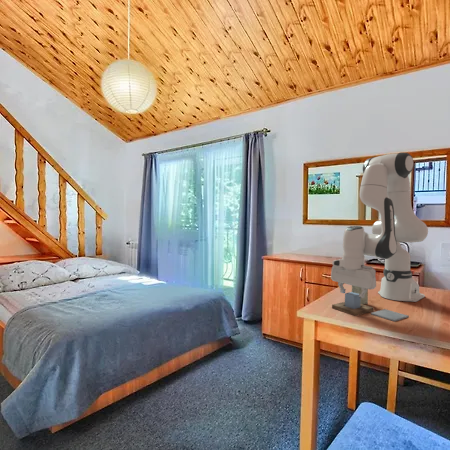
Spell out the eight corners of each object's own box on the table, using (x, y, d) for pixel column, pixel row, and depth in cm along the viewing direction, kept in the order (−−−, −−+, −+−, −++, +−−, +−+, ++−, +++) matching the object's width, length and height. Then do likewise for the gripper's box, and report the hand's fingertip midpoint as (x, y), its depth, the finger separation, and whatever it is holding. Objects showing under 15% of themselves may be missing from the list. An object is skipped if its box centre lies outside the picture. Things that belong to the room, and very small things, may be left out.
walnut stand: (349, 303, 143) (349, 300, 143) (373, 311, 133) (373, 307, 133) (332, 308, 137) (332, 304, 137) (355, 315, 127) (356, 312, 127)
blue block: (351, 307, 138) (351, 292, 138) (360, 310, 134) (360, 294, 134) (344, 309, 136) (345, 293, 135) (353, 311, 132) (354, 295, 132)
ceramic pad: (384, 310, 134) (384, 309, 134) (408, 317, 125) (408, 315, 125) (370, 314, 129) (370, 312, 129) (394, 321, 120) (394, 320, 120)
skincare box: (368, 304, 143) (368, 278, 143) (360, 304, 142) (360, 278, 141) (358, 300, 149) (359, 275, 149) (350, 301, 148) (351, 275, 148)
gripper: (380, 266, 127) (378, 300, 127) (338, 260, 144) (337, 289, 145) (370, 267, 124) (369, 302, 124) (329, 260, 141) (328, 290, 141)
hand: (351, 295), depth 134 cm, fingers open, 8 cm apart
